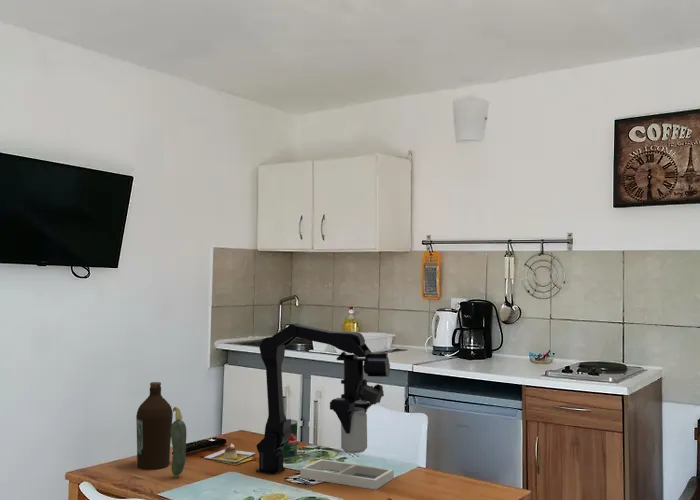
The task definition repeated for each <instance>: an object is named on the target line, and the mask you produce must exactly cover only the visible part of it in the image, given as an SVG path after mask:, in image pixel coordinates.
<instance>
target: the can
mask: <svg viewBox="0 0 700 500" xmlns="http://www.w3.org/2000/svg"><path fill="white" fill-rule="evenodd" d="M353 410H356V411H355V412H354V413H353V414H352V418H351V429H350V433H349V434H346V432H345V430H344V428H343V426H342V424H341V423H340V445H341V447H340V448H341V450H343V452H344V453H347V454H361V453H364V452H365V451H366V450H367V448H368V414H367V412H366V413H365V412H364V410H365V409H364V408H359V407H354V409H353Z"/></svg>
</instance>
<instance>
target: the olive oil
mask: <svg viewBox="0 0 700 500" xmlns="http://www.w3.org/2000/svg"><path fill="white" fill-rule="evenodd" d="M161 386H162V383H161V382H160V381H152V382H150V383H149V395H148V396H147V398H145V400H144V401H143V402H142V403H141V404H140V405H139V407H138V409H137V412H136V417H135V419H136V425H135V426H136V467H137V468H138V469H140V470H146V471H150V470H151V471H152V470H153V471H155V470H160V469H164V468H165V469H166V468H167V467H168V466H169V465H170V458H171V455H170V454H171V444H172V441H171V426H172V423H173V419H174V418H173V417H174V415H173V413H174V412H173V408H172V406H171V404H170V403H169V402H168V401H167V400H166V399H165V398H164V397H163V395H162V387H161Z"/></svg>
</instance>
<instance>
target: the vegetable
mask: <svg viewBox="0 0 700 500" xmlns="http://www.w3.org/2000/svg"><path fill="white" fill-rule="evenodd" d="M172 412H173V413H174V412H175V416H174V417H175V421H172V426H171V446H172V460H171V461H172V462H171V474H172V475H173V477H174V478H178V477H179V476H180V475H181V474H182V472H184V469H185V464H186V453H187V426H186V423H185V422H184V421H183V415H182V412H181V409H180V408H178V407H177V406H174V407H173V408H172Z"/></svg>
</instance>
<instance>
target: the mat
mask: <svg viewBox="0 0 700 500" xmlns="http://www.w3.org/2000/svg"><path fill="white" fill-rule="evenodd" d="M352 476H359V477H365V478H371V479H375V478H376V477H378V476H371V475H365V474H359V473H356V474H354V475H352Z"/></svg>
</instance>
